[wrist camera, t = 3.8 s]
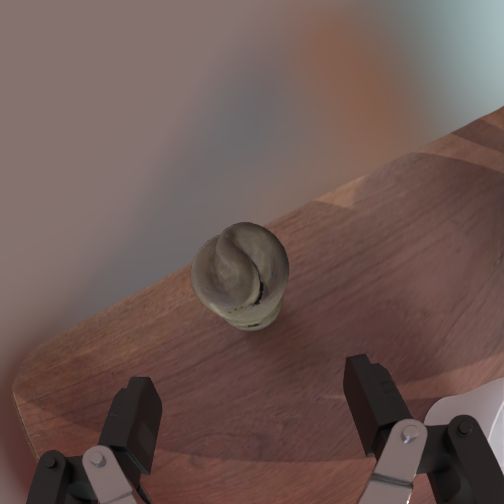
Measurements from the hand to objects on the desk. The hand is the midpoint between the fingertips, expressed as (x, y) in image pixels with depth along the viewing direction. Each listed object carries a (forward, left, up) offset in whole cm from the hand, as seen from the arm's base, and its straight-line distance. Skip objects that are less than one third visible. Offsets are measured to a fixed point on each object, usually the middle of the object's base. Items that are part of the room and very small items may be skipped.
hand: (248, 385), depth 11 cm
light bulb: (-4, +5, -17) cm, 18 cm away
